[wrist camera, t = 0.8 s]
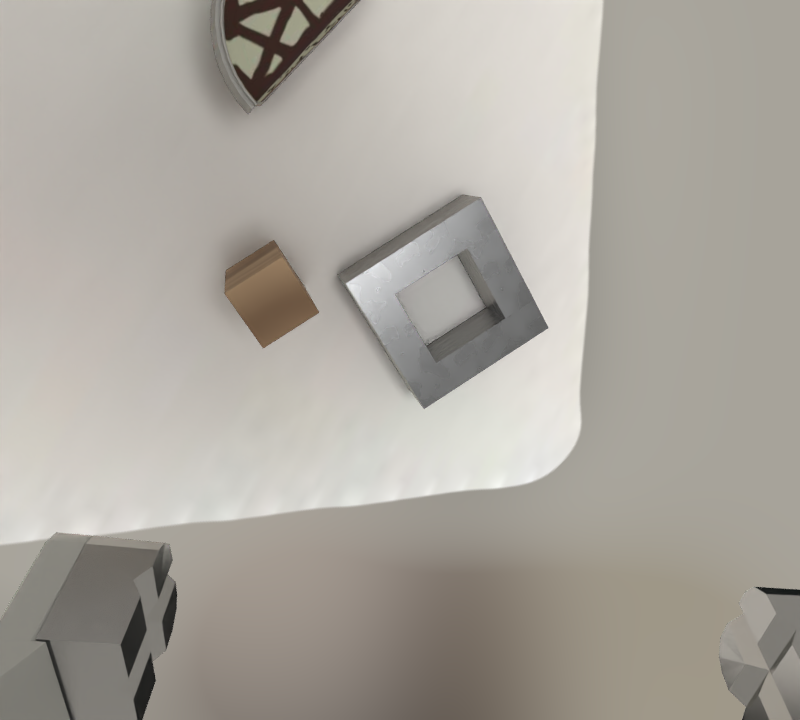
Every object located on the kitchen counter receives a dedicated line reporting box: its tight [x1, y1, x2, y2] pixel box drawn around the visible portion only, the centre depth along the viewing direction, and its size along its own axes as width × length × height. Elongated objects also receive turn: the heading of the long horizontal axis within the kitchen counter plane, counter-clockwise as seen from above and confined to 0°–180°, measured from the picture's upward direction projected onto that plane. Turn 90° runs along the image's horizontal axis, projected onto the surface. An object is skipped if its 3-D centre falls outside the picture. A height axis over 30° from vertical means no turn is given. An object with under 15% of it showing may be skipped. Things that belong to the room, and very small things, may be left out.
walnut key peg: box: [225, 240, 319, 348], centre depth 45 cm, size 4×4×9 cm
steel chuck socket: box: [337, 195, 548, 409], centre depth 51 cm, size 11×11×4 cm
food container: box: [211, 0, 360, 114], centre depth 40 cm, size 12×6×10 cm, turn 134°
